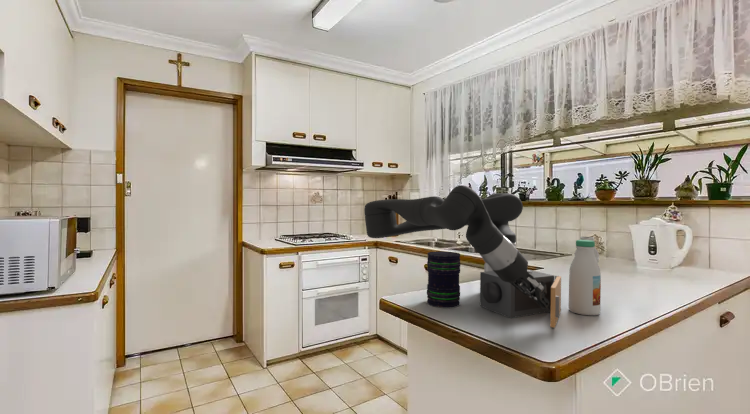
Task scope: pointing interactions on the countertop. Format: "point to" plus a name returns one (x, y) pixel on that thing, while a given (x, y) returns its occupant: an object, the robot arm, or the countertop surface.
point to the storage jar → (443, 279)
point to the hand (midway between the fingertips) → (546, 306)
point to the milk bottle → (584, 280)
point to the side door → (555, 301)
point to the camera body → (511, 295)
